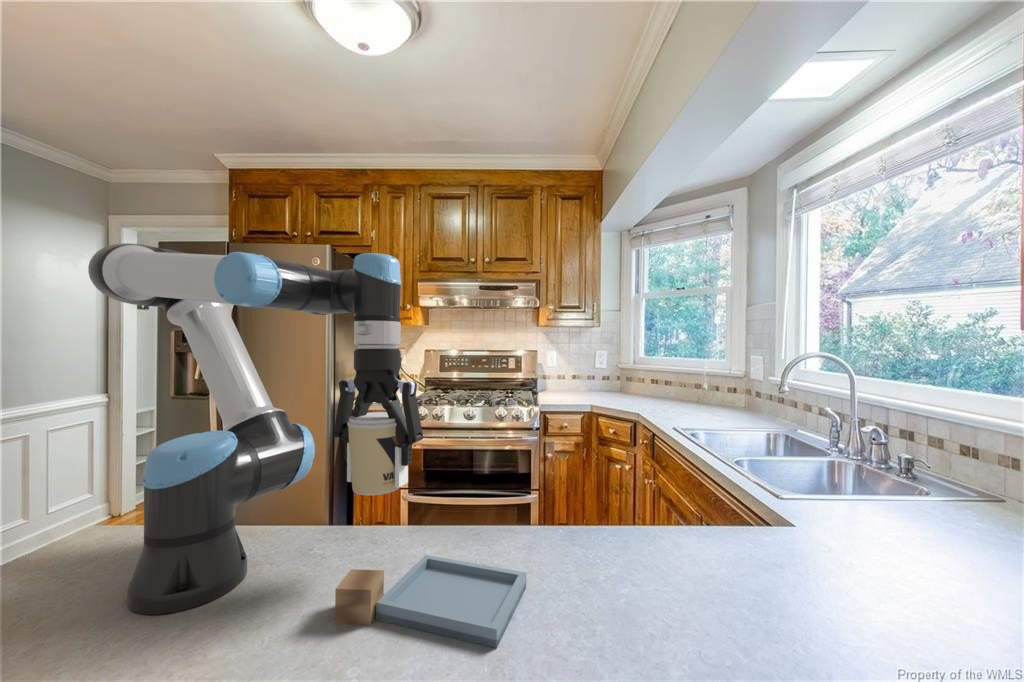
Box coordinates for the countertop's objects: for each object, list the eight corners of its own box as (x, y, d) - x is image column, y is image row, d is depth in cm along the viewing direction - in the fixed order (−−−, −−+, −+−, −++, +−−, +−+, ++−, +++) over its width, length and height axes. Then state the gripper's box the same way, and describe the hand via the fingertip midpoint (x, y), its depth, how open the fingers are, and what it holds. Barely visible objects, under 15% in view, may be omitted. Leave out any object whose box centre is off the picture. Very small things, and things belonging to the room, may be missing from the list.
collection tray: (375, 619, 59) (376, 602, 59) (425, 568, 72) (425, 554, 72) (496, 648, 54) (496, 629, 54) (526, 587, 67) (526, 572, 67)
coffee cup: (389, 499, 65) (389, 421, 65) (335, 495, 67) (335, 419, 67) (414, 480, 74) (414, 412, 74) (366, 477, 76) (366, 410, 76)
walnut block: (335, 624, 58) (335, 588, 58) (350, 602, 63) (351, 569, 63) (370, 626, 58) (371, 589, 58) (383, 603, 63) (383, 570, 63)
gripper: (309, 347, 70) (308, 482, 70) (422, 347, 64) (422, 496, 64) (340, 347, 78) (339, 470, 77) (445, 347, 71) (445, 481, 71)
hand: (377, 481), depth 71 cm, fingers closed on coffee cup, 9 cm apart
